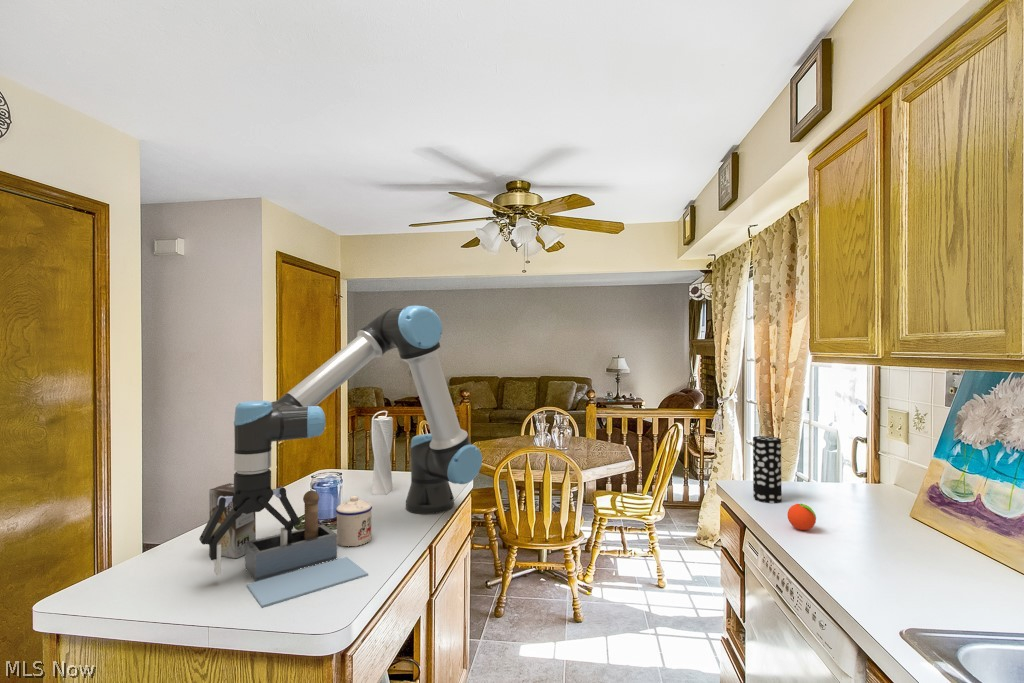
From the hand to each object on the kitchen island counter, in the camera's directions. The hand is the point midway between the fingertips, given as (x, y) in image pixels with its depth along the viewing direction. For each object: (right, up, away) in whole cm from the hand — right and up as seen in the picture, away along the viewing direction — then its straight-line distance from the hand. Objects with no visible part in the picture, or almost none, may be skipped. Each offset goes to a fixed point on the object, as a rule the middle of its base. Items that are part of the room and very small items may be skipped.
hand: (251, 565), depth 117 cm
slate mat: (+14, -2, -3) cm, 15 cm away
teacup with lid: (+17, -2, +21) cm, 27 cm away
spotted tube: (+142, -2, +54) cm, 152 cm away
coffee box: (-11, -2, +13) cm, 17 cm away
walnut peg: (+10, -2, +8) cm, 13 cm away
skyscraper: (+13, -3, +65) cm, 66 cm away
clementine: (+138, -2, +26) cm, 141 cm away
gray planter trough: (+7, -2, +6) cm, 9 cm away
